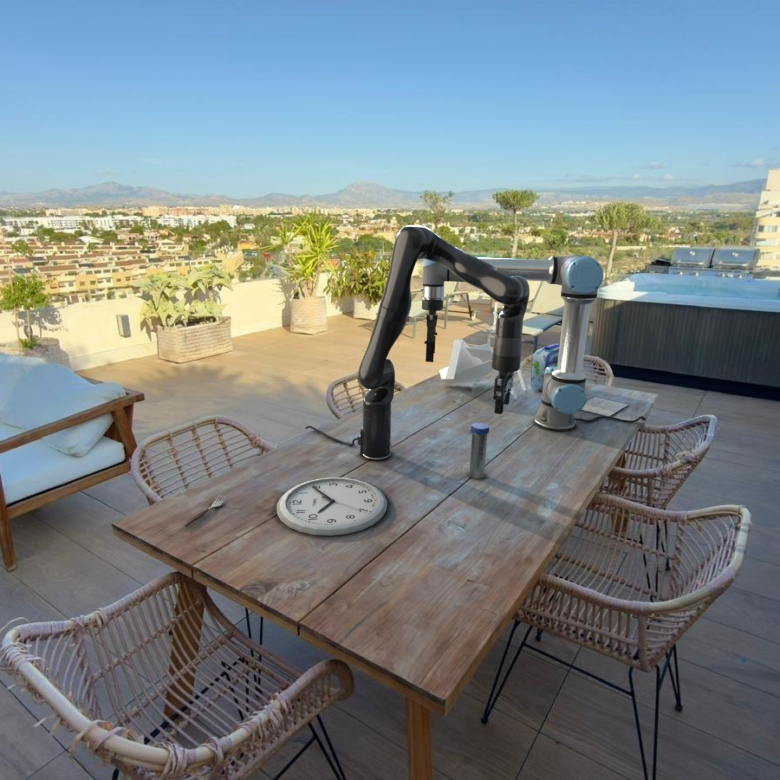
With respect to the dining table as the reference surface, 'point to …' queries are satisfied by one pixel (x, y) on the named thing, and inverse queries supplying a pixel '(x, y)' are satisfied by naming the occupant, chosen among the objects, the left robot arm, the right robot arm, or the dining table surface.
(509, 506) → the dining table surface
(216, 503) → the fork
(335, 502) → the wall clock
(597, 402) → the invitation card
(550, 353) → the lunch box
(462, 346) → the white plastic object
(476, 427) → the lid
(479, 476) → the jar
